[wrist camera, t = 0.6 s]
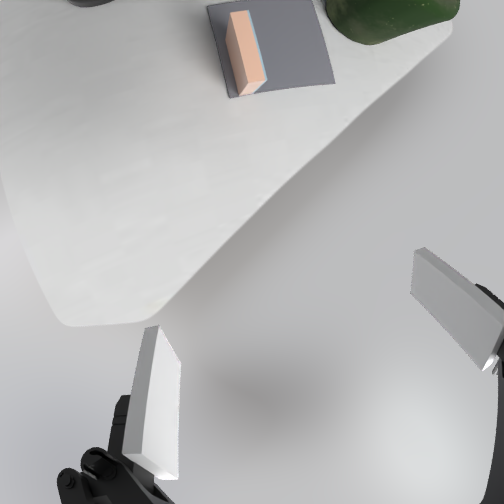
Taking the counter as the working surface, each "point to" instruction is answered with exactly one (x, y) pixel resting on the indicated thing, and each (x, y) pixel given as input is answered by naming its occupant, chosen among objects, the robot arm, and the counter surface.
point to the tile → (244, 53)
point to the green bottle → (387, 17)
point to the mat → (278, 43)
